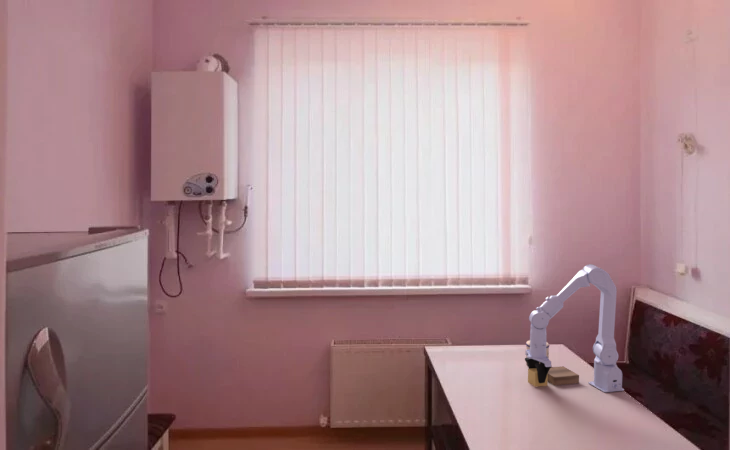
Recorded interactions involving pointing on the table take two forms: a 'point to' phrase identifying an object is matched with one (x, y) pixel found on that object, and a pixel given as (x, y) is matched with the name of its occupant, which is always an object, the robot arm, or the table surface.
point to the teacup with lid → (546, 348)
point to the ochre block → (535, 378)
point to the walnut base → (562, 376)
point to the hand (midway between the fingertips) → (537, 379)
